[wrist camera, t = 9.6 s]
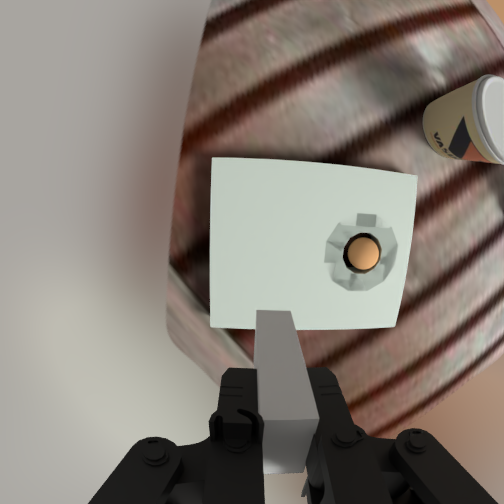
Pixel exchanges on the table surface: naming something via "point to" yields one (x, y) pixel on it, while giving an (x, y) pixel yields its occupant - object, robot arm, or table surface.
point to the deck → (306, 242)
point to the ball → (363, 253)
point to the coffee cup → (468, 122)
